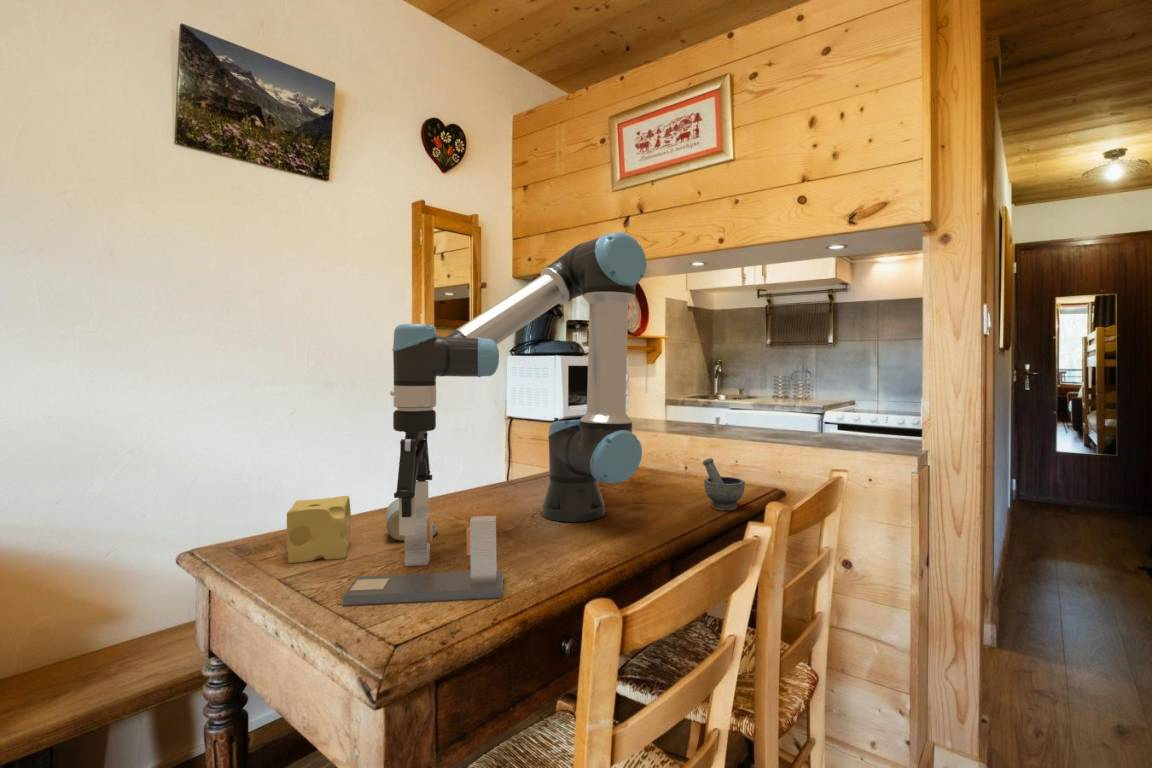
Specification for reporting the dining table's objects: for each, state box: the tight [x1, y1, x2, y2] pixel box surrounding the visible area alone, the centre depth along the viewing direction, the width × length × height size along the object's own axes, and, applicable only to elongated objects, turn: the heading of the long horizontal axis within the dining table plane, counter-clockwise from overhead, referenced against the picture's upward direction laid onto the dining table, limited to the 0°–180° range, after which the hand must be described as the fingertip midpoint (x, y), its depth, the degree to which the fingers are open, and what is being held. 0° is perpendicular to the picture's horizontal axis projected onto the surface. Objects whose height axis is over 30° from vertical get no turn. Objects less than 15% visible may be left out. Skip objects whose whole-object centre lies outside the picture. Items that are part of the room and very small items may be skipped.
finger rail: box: [342, 515, 504, 607], centre depth 91 cm, size 24×8×12 cm, turn 96°
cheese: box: [286, 495, 352, 564], centre depth 111 cm, size 10×11×10 cm
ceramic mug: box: [385, 498, 438, 542], centre depth 121 cm, size 11×8×8 cm
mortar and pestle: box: [702, 458, 746, 511], centre depth 144 cm, size 11×9×12 cm
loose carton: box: [403, 506, 433, 567], centre depth 105 cm, size 5×3×10 cm, turn 96°
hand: (414, 524), depth 105 cm, fingers open, 13 cm apart
